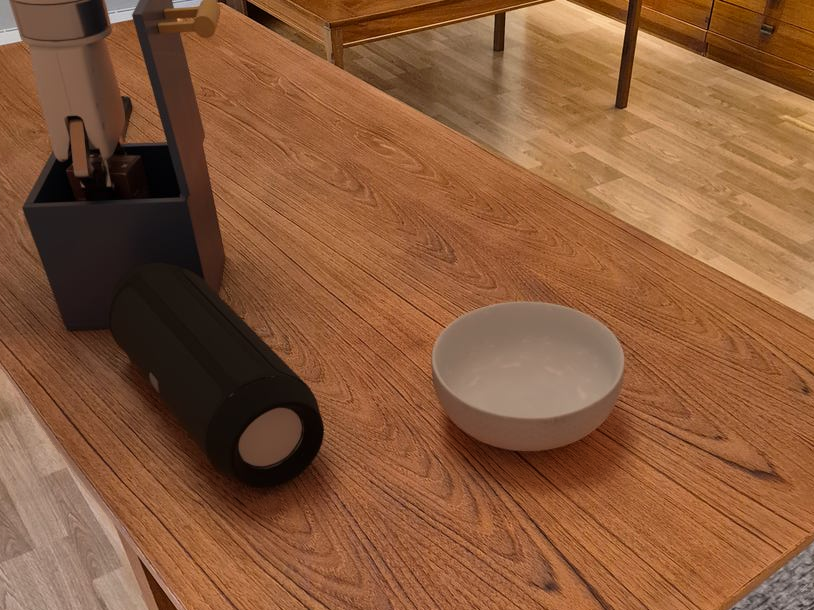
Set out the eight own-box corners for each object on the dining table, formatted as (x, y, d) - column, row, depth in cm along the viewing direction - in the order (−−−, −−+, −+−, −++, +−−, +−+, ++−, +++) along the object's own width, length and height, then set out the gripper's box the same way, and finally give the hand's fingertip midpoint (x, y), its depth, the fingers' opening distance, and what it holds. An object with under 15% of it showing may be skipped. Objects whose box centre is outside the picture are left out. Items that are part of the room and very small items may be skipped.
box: (170, 262, 95) (142, 153, 86) (155, 285, 92) (124, 175, 83) (116, 258, 95) (82, 149, 87) (99, 281, 92) (62, 170, 84)
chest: (66, 331, 89) (21, 207, 80) (92, 262, 99) (55, 145, 90) (214, 323, 91) (187, 200, 82) (225, 256, 101) (202, 140, 92)
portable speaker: (115, 363, 86) (85, 271, 79) (211, 330, 90) (191, 240, 83) (231, 517, 71) (207, 420, 64) (339, 468, 75) (327, 373, 68)
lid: (131, 14, 71) (202, 9, 71) (155, -32, 81) (217, -36, 81) (181, 196, 81) (243, 191, 82) (197, 136, 91) (252, 132, 92)
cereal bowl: (446, 355, 88) (445, 293, 83) (615, 368, 86) (625, 306, 81) (418, 471, 75) (415, 406, 70) (615, 489, 74) (626, 424, 69)
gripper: (39, -13, 82) (94, 177, 95) (-11, 50, 70) (59, 257, 82) (123, -14, 83) (166, 174, 95) (88, 48, 71) (143, 254, 83)
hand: (116, 211), depth 89 cm, fingers closed on box, 4 cm apart
